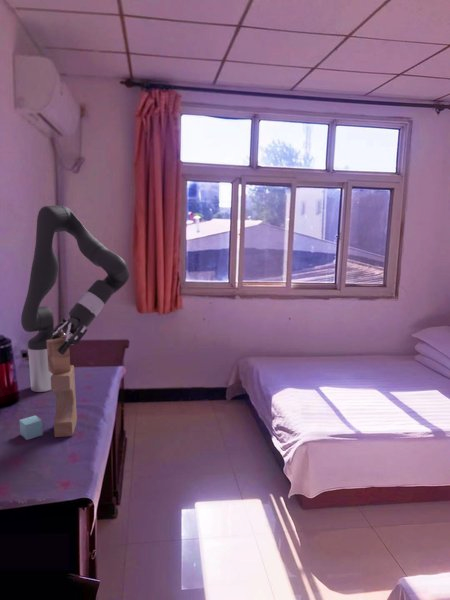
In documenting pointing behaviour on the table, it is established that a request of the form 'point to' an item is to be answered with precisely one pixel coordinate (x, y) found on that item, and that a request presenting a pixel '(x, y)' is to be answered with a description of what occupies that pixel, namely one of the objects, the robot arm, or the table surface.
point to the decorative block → (64, 403)
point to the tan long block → (57, 357)
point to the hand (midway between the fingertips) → (54, 350)
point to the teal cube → (31, 427)
